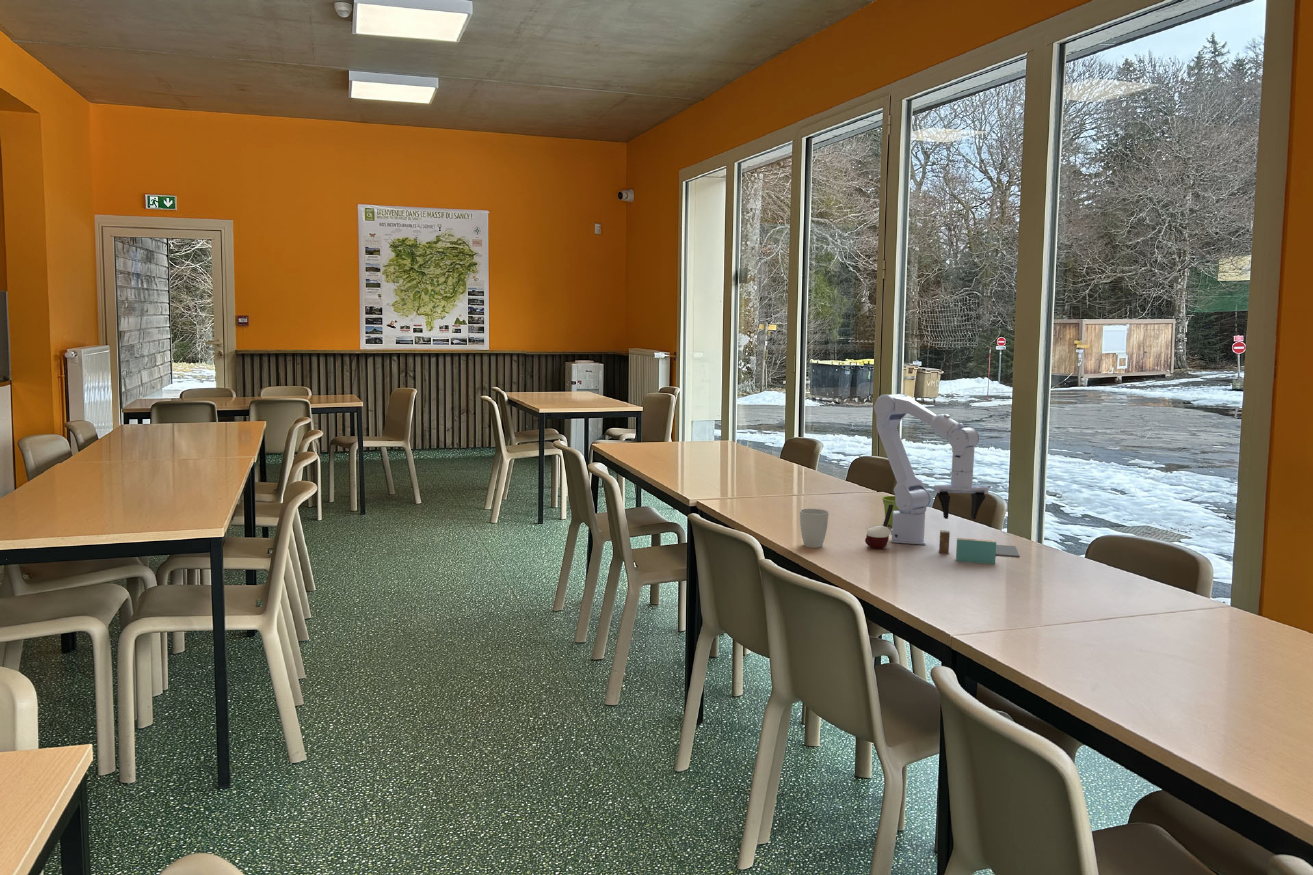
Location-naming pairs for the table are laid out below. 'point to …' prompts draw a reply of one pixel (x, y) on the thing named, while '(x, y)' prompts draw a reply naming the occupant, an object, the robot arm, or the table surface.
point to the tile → (976, 550)
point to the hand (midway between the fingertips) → (959, 518)
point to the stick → (944, 541)
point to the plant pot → (887, 501)
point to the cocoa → (879, 533)
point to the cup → (813, 526)
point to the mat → (1006, 551)
